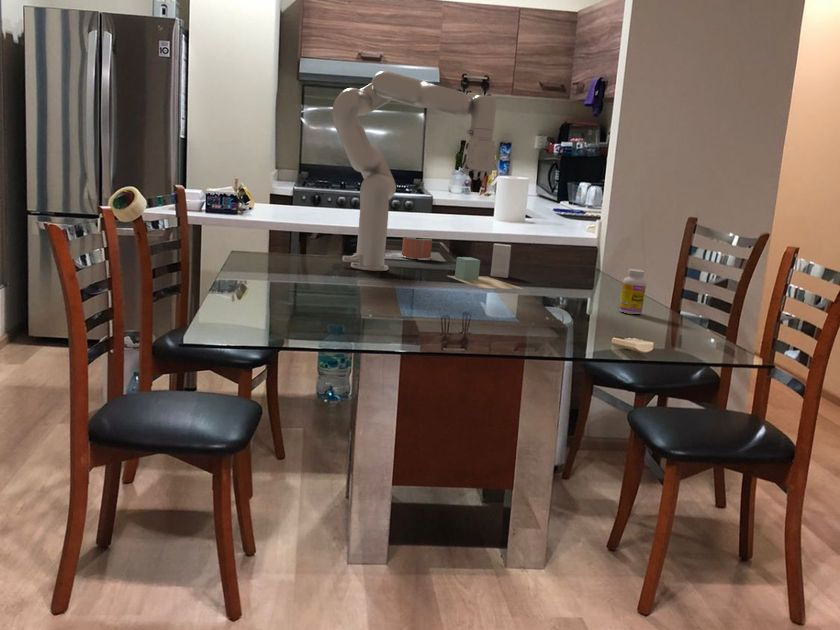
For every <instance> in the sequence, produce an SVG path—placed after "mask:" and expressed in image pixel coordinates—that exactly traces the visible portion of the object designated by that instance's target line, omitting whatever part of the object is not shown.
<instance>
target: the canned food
mask: <svg viewBox="0 0 840 630" xmlns="http://www.w3.org/2000/svg"><path fill="white" fill-rule="evenodd" d="M432 245H433V238H432V239H416V238H402V246H401V247H402V249H401V256H402V255H403V256H406V257H413V258H429V257H431V256H432Z"/></svg>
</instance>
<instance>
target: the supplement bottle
mask: <svg viewBox="0 0 840 630" xmlns="http://www.w3.org/2000/svg"><path fill="white" fill-rule="evenodd" d="M645 272H646V271H644V270H642V269H637V268H636V269H635V268H629V269H628V270H627V277H624V278H623V281H622V286H621V293H620V300H619V308H618V311H619V312H620V311H621V312H624V313H629V314H640V315H642V311H643V306H644V301H645V295H646V287H647V282H646V280H645V279H644V275H645ZM621 312H620V313H621ZM624 313H623V314H624ZM629 314H628V315H629Z"/></svg>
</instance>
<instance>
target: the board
mask: <svg viewBox="0 0 840 630" xmlns="http://www.w3.org/2000/svg"><path fill="white" fill-rule="evenodd" d="M447 277H448V278H451V279H455V280H456V281H459V282H463V283H464V284H468V285H471V286H473V287H476V288H479V289H492V290H493V289H498V290H499V289H502V290H503V289H504V290H506V289H509V290H510V289H511V290H523V289H524V288H522V287H520V286H517V285H514V284H511V283H508V282H505V281H501V280H499V279H495V278H492V277H490V276H482V275H481V276H479V277H478V280H462V279H459V278H456V277H455V275H447Z"/></svg>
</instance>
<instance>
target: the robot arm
mask: <svg viewBox="0 0 840 630" xmlns="http://www.w3.org/2000/svg"><path fill="white" fill-rule="evenodd" d="M392 101H394V102H398V103H401V104H404V105H408V106H412V107H415V108H425V109H430V110H434V111H438V112H442V113H446V114H448V115H453V116H454V117H455V116H456V117H459V118H469V117H470V125H469V126H470V128H469V129H466V134H467V135H468V137H467V139H466V142H465V145H464V149H463V155H462V163H461V165H462V170H461V171H462V173H464V174H466V175H468V177H469V179H470V186H469V188H470V192H471V193H476V194H478V193H480V192H481V189H482V188H481V186H482V181H483V180H484V179H485V178H486V176H492V174H493V171H495V167H496V166H495V165H496V142H495V141H496V140H493V139H494V138H493V137H494V131H495V130H494V127H495V121H496V120H495V119H496V111H497V98H496V97H494V96H492V95H484V94H482V95H481V94H477V95H472V94H467V93H465V92H463V91H460V90H458V89H457V90H456V89H451V88H448V87H444V86H441V85H437V84H433V83H430V82H428V81H426V80H422V79H418V78H414V77H411V76H407V75H402V74H400V73H399V74H398V73H395V72H391V71H388V70H387V71H386V70H381V71H378V72H376V74H375V75H374V76H373V78H372V80H371V82H370V83H369V84H368V85H365V86H364V87H362V88H356V87H349V88H346V89H344V90H342V91H341V92H340V93H339V95H338V96H337V97H336V98H335V100H334V103H333V105H332V111H331V112H332V113H331V114H332V122H333V125H334V128H335V130H336V133H337V135H338V137H339V139H340V143H341V144H342V147H343V149H344V151H345V154H346V156H347V158H348V160H349V163H350V165H351V167H352V168H353V170H354V171H356V172H358V173H360V174H361V176H362V178H363V180H362V182H361V186H360V189H359V221H358V230H357V231H358V232H357V245H356V252H355V253H354V252H353V254H352V255H342V257H341V258H342V259H341V260H342V261H343V262H348V263H351V264H350V267H351V268H352V269H356V270H362V271H371V272H372V271H373V272H383V271H385V272H386V271H388V270H389V266H388V265H387V264H385V259H386V258H385V256H386V246H387V234H388V222H389V200H391V199H392V198H393V197H394V195H395V193H396V190H397V185H396V181H395V179H394V177H393V174H392V172H391V169H390V168H389V165H388V163H387V161H386V158H385V157H384V155H383V153H382V151H381V150H380V149H379V147H377V146H376V145H375V144H371V141H370V140H369V138H368V136H367V134H366V131H365V129H364V126H363V125H362V123H361V121H360V118H359V117H362V116H366V115H368V114H371V113H372V112H374V111H376V110H377V109H379V108H381V107H383V106H384V105H387V104H388V103H390V102H392Z"/></svg>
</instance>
